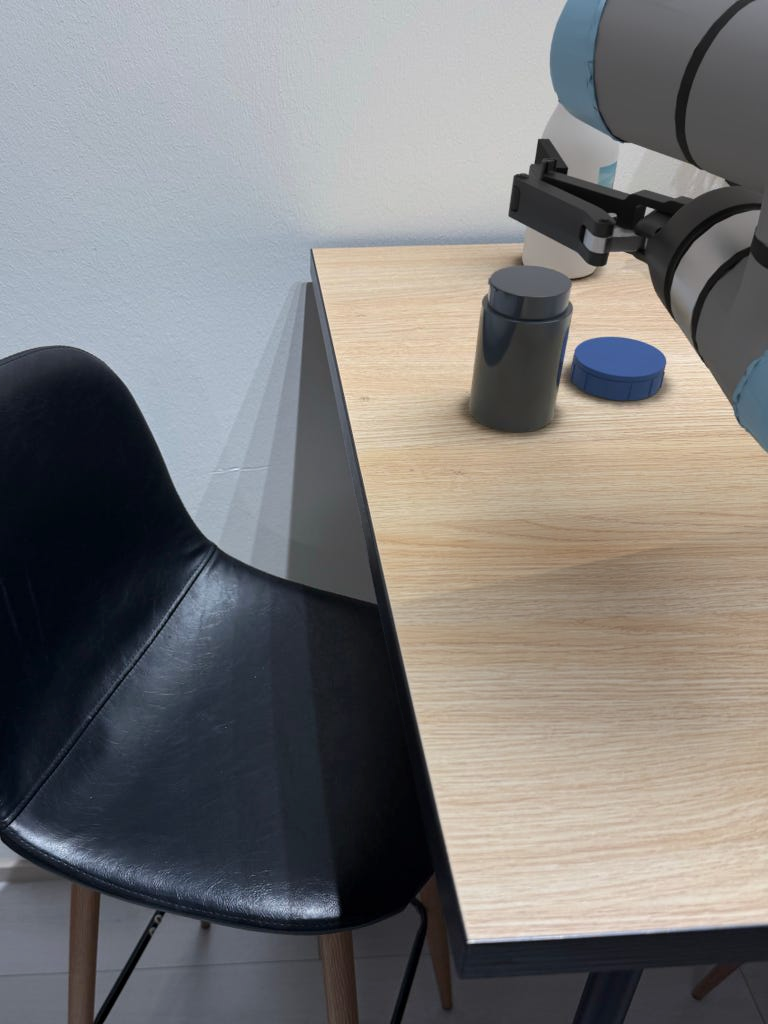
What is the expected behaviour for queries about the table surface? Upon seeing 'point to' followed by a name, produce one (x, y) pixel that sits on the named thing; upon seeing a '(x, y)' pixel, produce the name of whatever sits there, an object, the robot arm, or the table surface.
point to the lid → (618, 368)
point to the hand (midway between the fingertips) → (637, 159)
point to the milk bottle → (585, 160)
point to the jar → (520, 348)
